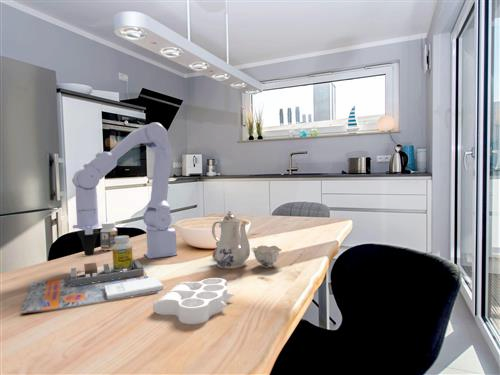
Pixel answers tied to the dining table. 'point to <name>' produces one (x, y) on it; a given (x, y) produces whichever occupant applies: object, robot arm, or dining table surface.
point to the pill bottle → (108, 235)
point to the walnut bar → (90, 268)
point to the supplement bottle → (122, 254)
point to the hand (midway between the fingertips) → (89, 255)
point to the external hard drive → (132, 287)
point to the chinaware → (239, 246)
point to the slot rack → (106, 274)
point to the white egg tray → (194, 300)
